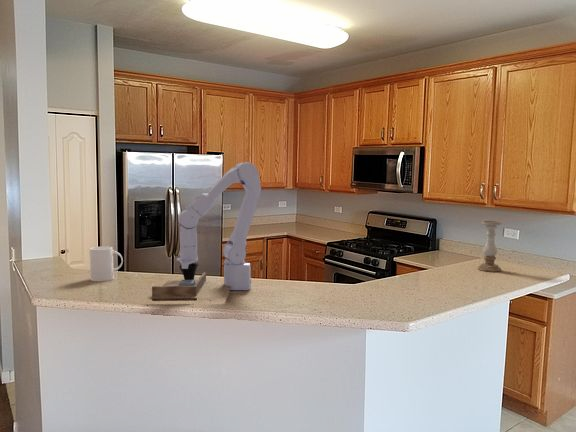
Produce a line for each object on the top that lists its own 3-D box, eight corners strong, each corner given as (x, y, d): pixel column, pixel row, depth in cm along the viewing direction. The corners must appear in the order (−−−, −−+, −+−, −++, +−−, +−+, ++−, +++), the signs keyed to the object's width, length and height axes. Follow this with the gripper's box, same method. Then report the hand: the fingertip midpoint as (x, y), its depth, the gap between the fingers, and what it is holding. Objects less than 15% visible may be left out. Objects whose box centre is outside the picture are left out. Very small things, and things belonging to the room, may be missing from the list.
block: (195, 288, 152) (195, 279, 152) (193, 292, 148) (192, 283, 148) (182, 288, 152) (181, 279, 152) (179, 292, 148) (178, 283, 147)
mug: (125, 275, 178) (124, 245, 177) (120, 280, 169) (119, 249, 168) (93, 276, 176) (92, 246, 175) (87, 282, 167) (86, 250, 166)
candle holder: (504, 272, 184) (507, 222, 183) (483, 272, 185) (485, 222, 183) (495, 267, 193) (497, 220, 191) (474, 267, 193) (476, 220, 191)
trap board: (206, 284, 164) (205, 272, 163) (196, 300, 143) (195, 286, 143) (167, 284, 163) (167, 272, 163) (152, 300, 143) (151, 286, 142)
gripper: (181, 242, 159) (182, 280, 161) (171, 249, 145) (172, 290, 146) (201, 242, 159) (201, 280, 161) (193, 249, 145) (194, 290, 146)
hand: (189, 285), depth 153 cm, fingers closed
